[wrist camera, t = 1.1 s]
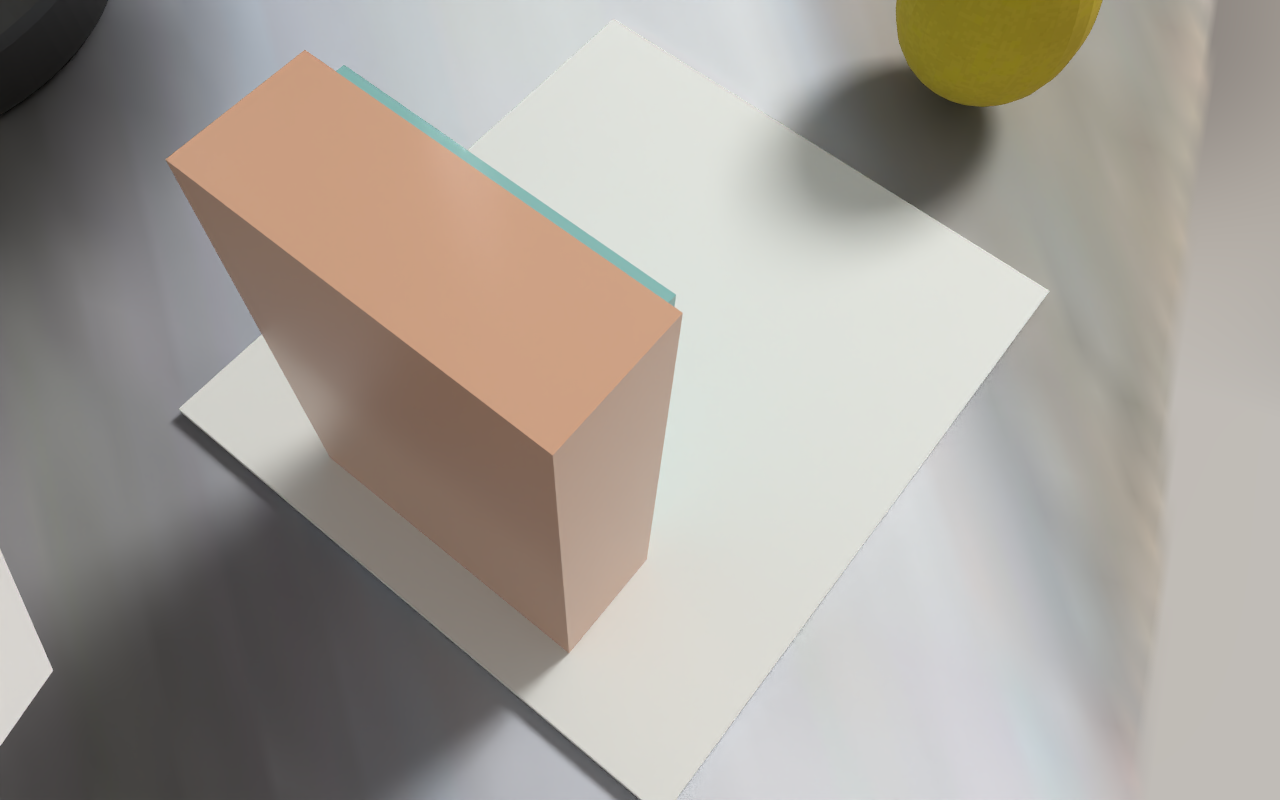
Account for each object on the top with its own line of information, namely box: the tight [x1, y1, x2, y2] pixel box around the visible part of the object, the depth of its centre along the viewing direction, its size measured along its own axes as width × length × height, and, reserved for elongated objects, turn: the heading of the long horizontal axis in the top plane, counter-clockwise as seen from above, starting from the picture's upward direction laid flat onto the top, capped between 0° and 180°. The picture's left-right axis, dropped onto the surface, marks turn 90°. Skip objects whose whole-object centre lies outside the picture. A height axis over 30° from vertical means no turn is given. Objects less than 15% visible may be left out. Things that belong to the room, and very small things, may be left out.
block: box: [165, 50, 683, 653], centre depth 22 cm, size 8×3×12 cm, turn 52°
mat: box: [179, 19, 1049, 800], centre depth 30 cm, size 16×18×1 cm
